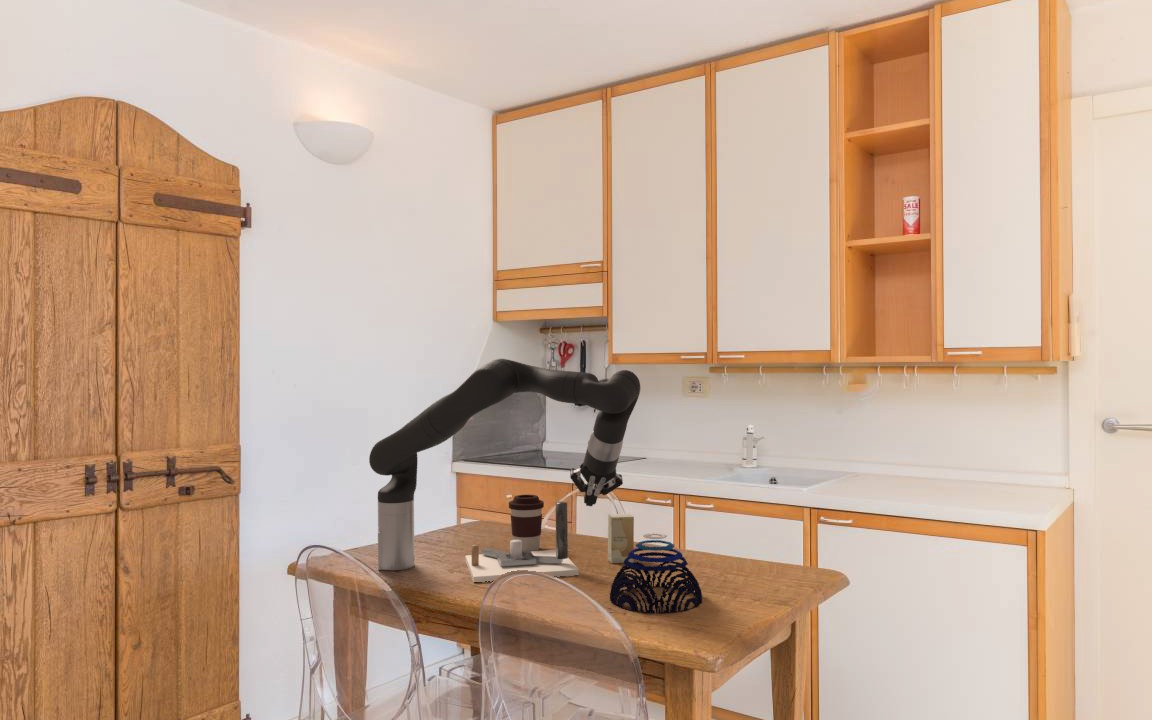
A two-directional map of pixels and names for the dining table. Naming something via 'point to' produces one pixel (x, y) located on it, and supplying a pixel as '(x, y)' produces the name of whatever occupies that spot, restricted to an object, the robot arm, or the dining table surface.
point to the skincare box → (620, 537)
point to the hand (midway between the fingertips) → (589, 503)
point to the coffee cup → (526, 520)
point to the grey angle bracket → (527, 555)
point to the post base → (490, 568)
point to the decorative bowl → (624, 581)
